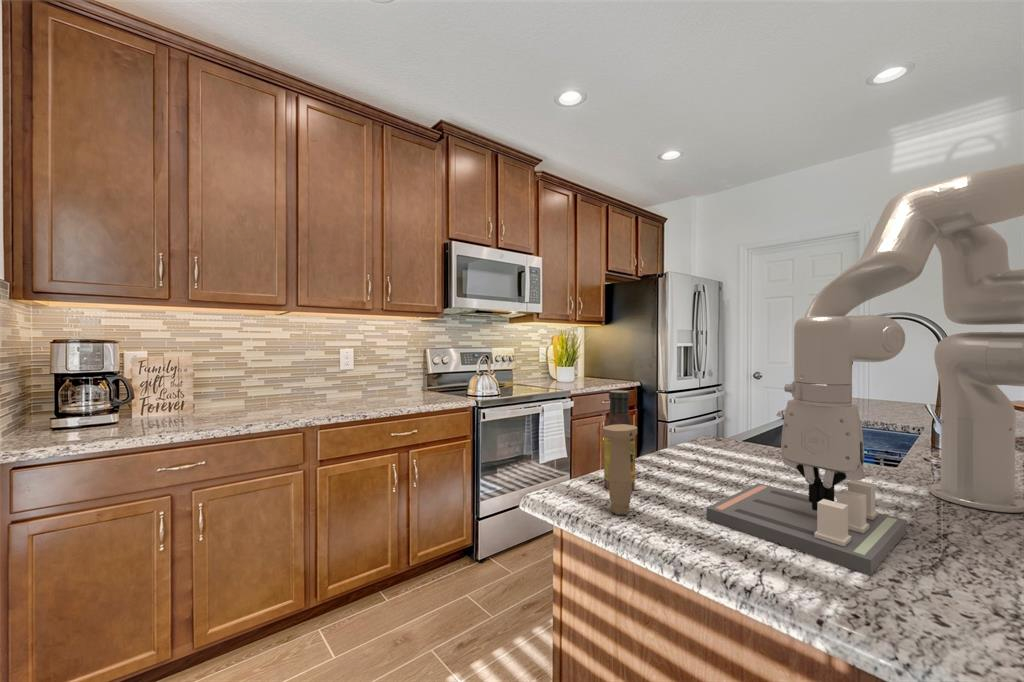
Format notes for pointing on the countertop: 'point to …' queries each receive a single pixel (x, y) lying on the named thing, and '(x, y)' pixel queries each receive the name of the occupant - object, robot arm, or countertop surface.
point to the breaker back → (870, 496)
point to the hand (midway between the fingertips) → (821, 509)
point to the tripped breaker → (854, 509)
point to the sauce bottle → (616, 416)
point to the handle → (620, 466)
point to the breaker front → (832, 522)
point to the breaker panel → (805, 526)
